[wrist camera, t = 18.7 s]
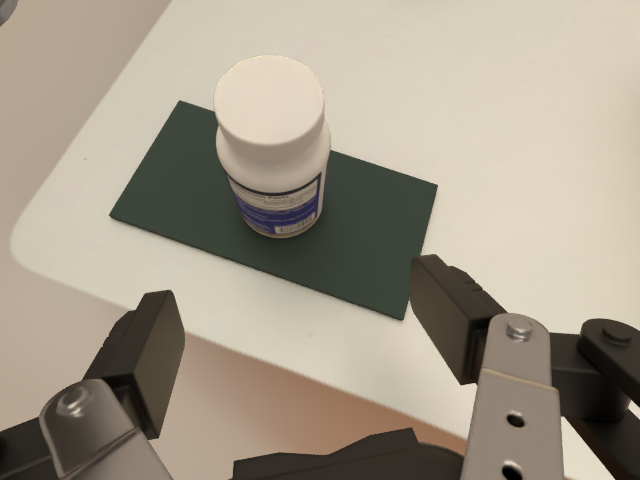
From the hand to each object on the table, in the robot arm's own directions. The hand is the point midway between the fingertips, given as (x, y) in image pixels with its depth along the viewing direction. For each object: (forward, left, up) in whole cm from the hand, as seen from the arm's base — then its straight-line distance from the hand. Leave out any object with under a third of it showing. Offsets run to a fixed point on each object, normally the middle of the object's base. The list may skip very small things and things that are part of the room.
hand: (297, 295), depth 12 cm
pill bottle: (-7, +5, -10) cm, 13 cm away
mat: (-7, +5, -10) cm, 14 cm away
